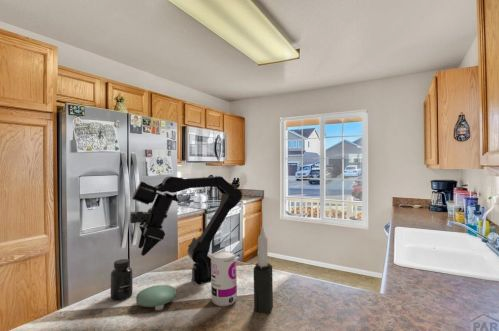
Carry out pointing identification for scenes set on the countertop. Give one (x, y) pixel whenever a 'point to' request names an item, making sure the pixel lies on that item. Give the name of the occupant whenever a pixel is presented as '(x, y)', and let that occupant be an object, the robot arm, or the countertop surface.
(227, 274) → the supplement can
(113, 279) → the supplement bottle
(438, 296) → the countertop surface
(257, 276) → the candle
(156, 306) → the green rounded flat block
